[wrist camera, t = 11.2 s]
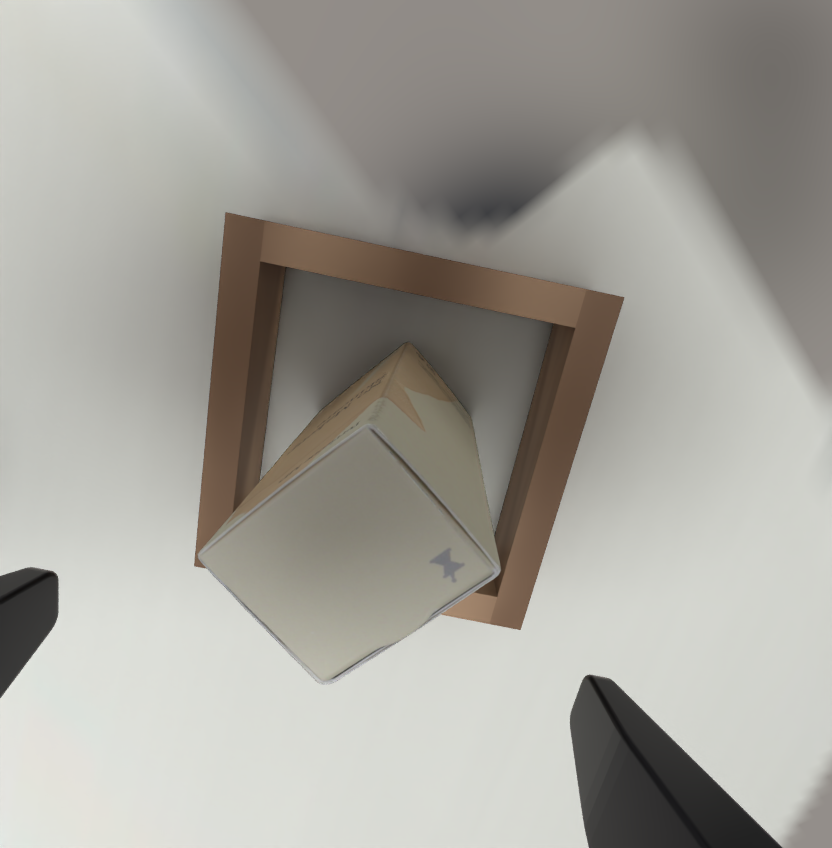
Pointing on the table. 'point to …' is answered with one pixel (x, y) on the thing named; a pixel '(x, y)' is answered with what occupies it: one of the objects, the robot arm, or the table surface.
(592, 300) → the brown square frame
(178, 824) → the table surface
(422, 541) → the box
